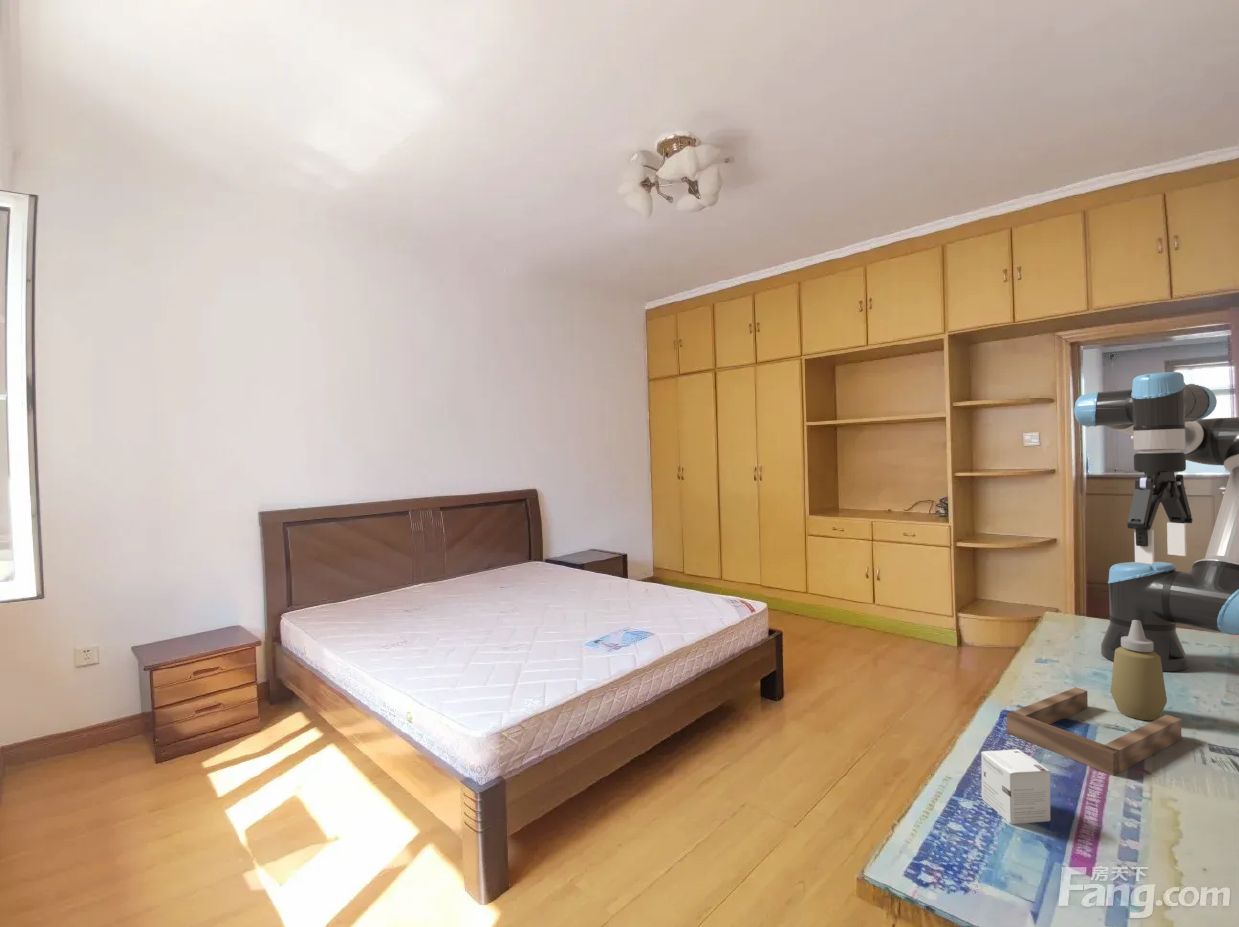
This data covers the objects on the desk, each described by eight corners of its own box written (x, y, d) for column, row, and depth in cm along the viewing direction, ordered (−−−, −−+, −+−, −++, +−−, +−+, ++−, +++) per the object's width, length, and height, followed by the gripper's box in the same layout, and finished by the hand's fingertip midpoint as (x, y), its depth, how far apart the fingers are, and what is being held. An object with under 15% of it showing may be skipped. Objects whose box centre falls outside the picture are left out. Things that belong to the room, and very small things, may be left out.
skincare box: (980, 799, 86) (979, 750, 86) (1019, 796, 86) (1018, 747, 86) (1011, 825, 80) (1010, 772, 80) (1052, 822, 80) (1051, 769, 80)
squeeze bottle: (1179, 725, 105) (1177, 627, 105) (1128, 723, 107) (1126, 626, 107) (1148, 706, 113) (1146, 615, 113) (1101, 704, 115) (1099, 614, 115)
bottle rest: (1075, 704, 115) (1075, 687, 115) (1181, 738, 101) (1181, 718, 101) (1007, 732, 105) (1006, 713, 105) (1113, 775, 90) (1113, 753, 90)
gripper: (1164, 450, 123) (1166, 549, 123) (1103, 454, 112) (1106, 563, 112) (1212, 449, 116) (1214, 554, 116) (1152, 453, 105) (1155, 569, 105)
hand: (1161, 559), depth 114 cm, fingers open, 13 cm apart
